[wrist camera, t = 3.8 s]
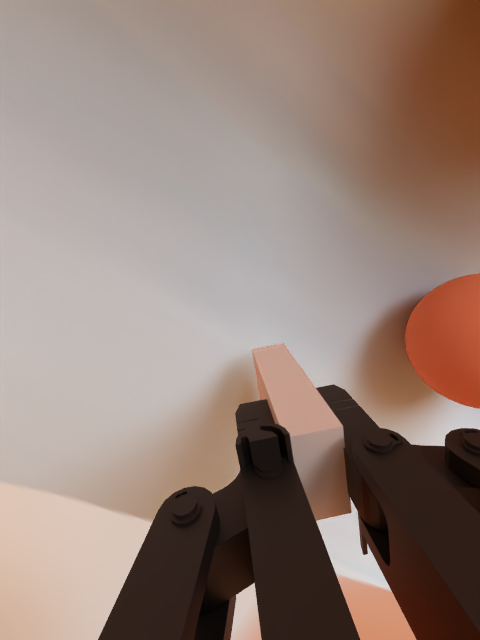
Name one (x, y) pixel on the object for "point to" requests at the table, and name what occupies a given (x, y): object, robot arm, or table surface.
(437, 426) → the table surface
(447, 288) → the ball
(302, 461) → the robot arm
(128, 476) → the table surface
